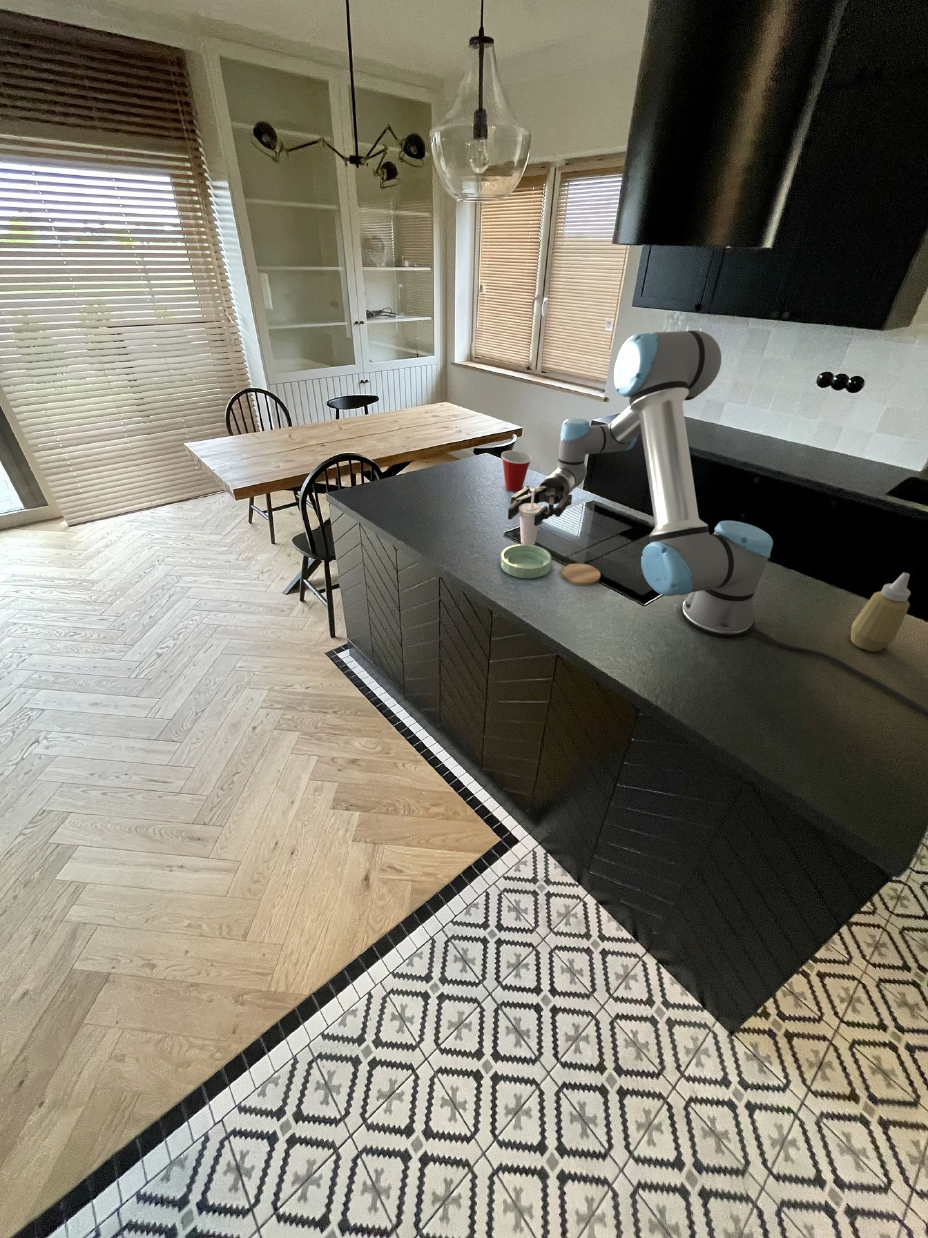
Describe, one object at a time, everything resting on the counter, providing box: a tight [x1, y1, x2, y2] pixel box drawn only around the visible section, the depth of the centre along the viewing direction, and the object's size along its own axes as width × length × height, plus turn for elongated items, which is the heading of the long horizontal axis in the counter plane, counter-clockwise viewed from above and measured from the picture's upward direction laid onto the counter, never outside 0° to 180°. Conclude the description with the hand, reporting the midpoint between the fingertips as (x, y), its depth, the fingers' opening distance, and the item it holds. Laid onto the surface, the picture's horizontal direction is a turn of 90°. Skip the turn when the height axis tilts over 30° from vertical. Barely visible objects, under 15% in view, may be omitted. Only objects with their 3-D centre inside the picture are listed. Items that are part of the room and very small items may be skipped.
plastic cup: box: [500, 449, 533, 492], centre depth 185 cm, size 11×11×12 cm
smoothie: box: [518, 491, 544, 546], centre depth 135 cm, size 6×6×14 cm
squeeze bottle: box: [850, 572, 912, 652], centre depth 112 cm, size 8×8×18 cm
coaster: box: [561, 563, 601, 586], centre depth 140 cm, size 10×10×1 cm
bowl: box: [500, 543, 553, 579], centre depth 143 cm, size 13×13×3 cm
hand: (522, 517), depth 130 cm, fingers closed on smoothie, 6 cm apart
